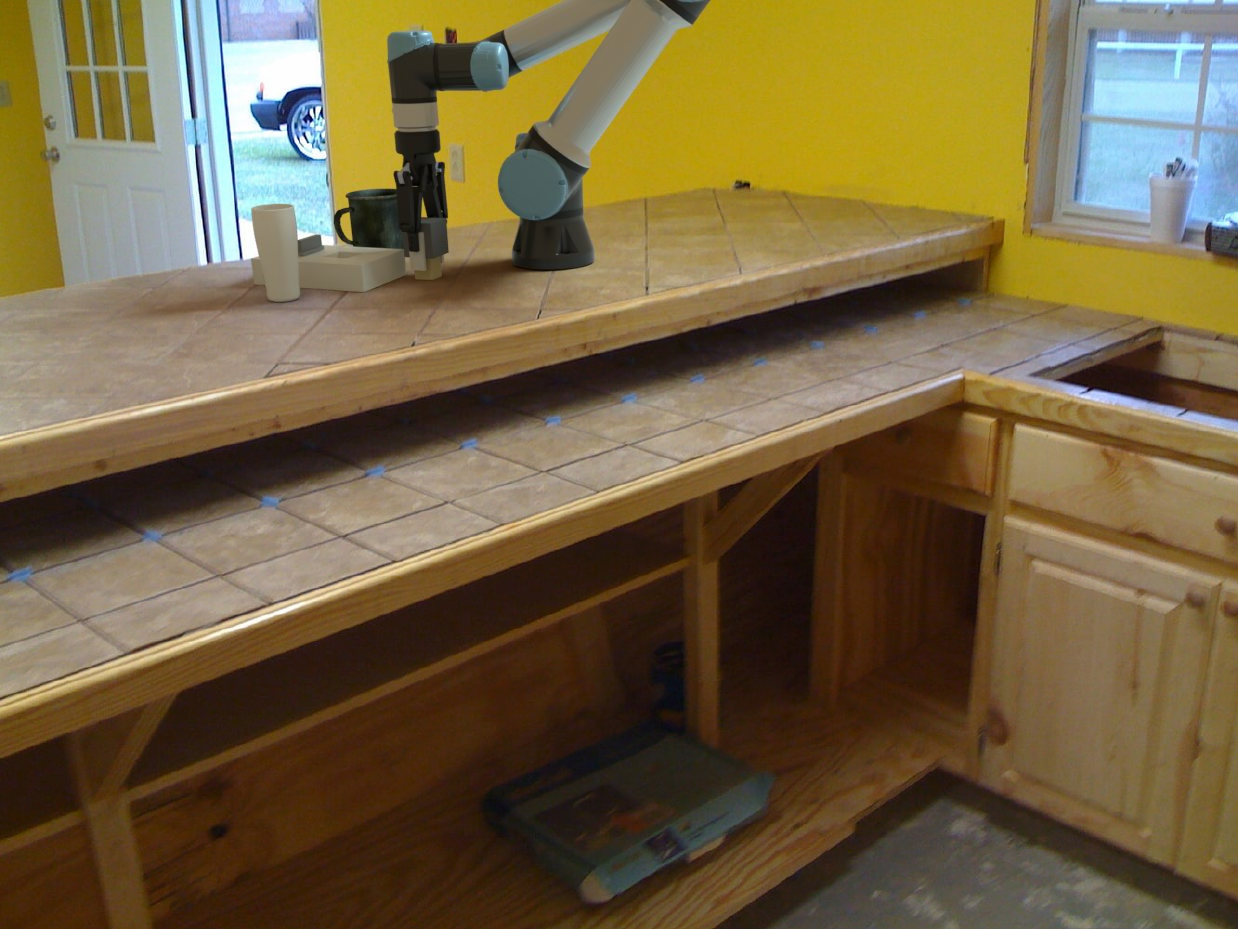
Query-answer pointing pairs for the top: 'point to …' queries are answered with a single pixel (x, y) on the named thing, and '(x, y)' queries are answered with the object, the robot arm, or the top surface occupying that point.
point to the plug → (431, 246)
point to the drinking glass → (277, 250)
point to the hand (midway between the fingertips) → (427, 265)
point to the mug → (372, 219)
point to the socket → (345, 268)
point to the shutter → (309, 245)
